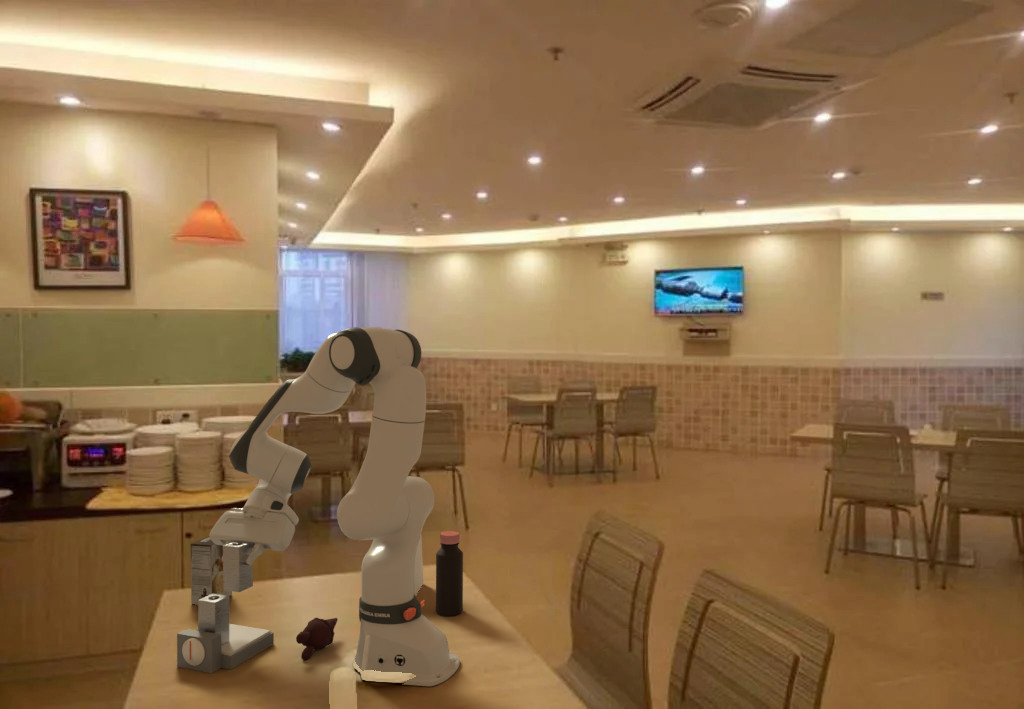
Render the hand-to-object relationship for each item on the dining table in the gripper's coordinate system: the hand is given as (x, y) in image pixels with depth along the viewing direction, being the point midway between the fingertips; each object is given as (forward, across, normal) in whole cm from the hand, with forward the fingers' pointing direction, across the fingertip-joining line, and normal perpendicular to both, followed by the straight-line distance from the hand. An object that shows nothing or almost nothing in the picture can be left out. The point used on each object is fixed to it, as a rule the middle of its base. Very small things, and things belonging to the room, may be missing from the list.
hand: (236, 562), depth 169 cm
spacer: (+4, 0, +5) cm, 6 cm away
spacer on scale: (+16, 0, +5) cm, 17 cm away
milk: (-19, +16, +46) cm, 52 cm away
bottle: (-11, +36, +39) cm, 54 cm away
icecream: (+10, +18, +17) cm, 27 cm away
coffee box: (-2, -26, +28) cm, 38 cm away
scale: (+17, 0, +9) cm, 19 cm away
